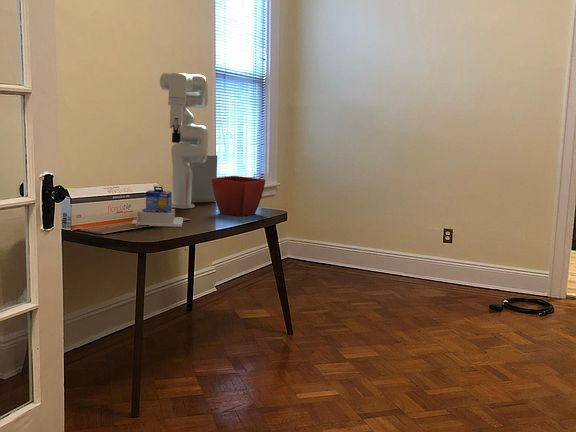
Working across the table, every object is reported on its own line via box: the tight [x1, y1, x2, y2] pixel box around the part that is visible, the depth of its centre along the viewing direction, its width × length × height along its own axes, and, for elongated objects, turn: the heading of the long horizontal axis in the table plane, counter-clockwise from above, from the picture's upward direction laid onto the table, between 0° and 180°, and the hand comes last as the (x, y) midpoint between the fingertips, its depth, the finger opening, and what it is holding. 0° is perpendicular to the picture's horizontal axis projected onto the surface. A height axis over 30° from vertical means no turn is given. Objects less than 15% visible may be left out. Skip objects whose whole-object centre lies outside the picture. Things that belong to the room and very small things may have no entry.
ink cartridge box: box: [145, 185, 172, 213], centre depth 242 cm, size 10×6×14 cm, turn 88°
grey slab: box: [188, 154, 218, 204], centre depth 307 cm, size 14×6×25 cm, turn 123°
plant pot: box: [212, 175, 266, 217], centre depth 276 cm, size 19×19×17 cm
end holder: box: [131, 207, 184, 228], centre depth 244 cm, size 16×20×5 cm
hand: (176, 142), depth 253 cm, fingers open, 9 cm apart
